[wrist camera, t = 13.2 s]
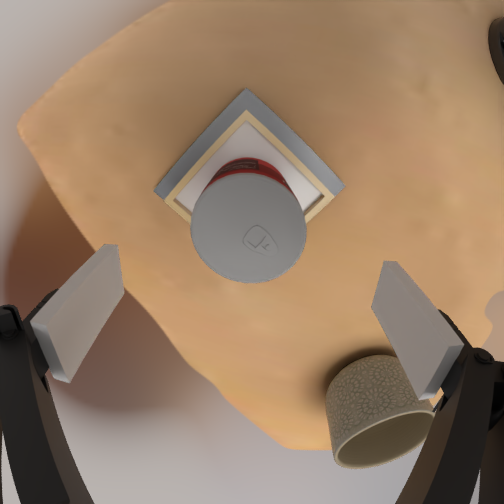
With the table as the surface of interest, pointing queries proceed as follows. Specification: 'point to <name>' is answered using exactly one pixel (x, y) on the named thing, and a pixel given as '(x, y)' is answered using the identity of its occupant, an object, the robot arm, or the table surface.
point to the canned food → (248, 222)
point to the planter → (375, 413)
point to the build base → (268, 123)
